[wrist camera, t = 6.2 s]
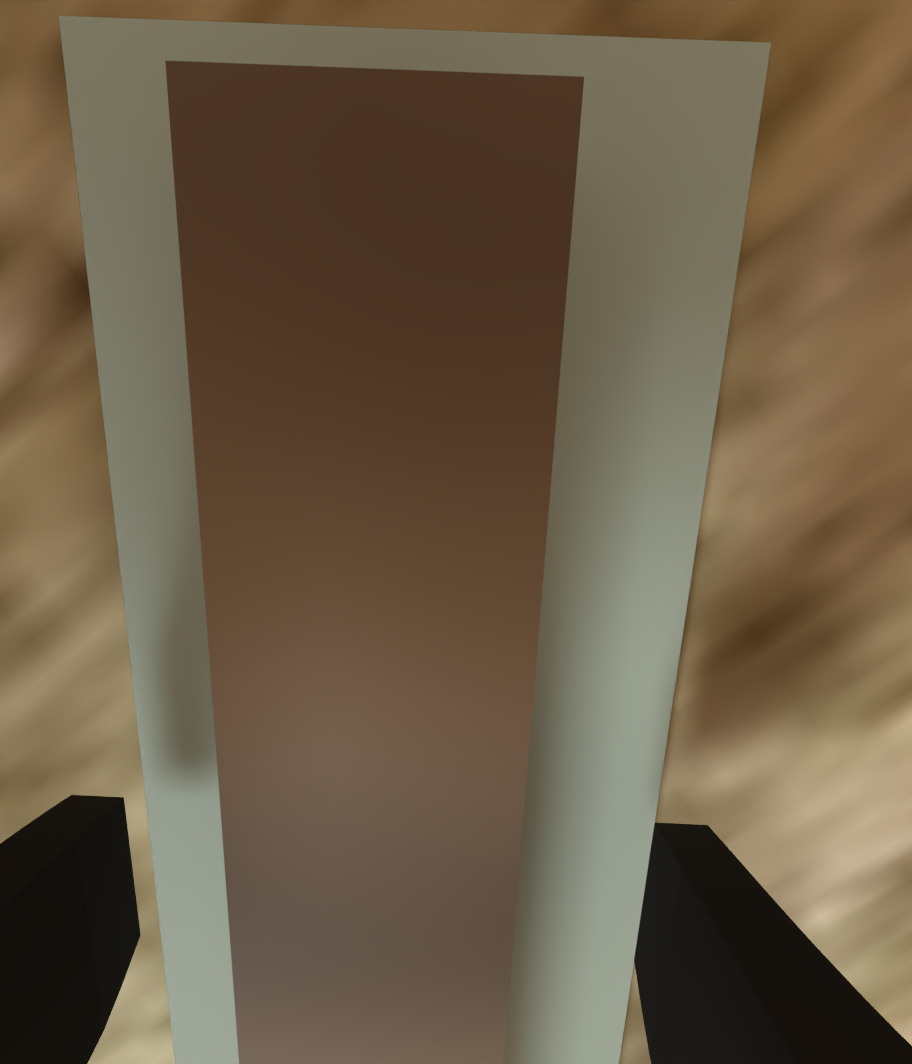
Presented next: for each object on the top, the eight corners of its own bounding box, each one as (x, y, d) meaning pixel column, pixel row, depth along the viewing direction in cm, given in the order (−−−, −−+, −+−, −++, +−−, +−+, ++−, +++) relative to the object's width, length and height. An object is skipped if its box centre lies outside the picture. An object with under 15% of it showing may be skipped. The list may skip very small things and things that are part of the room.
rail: (473, 1193, 13) (473, 1435, 10) (309, 1185, 13) (265, 1422, 10) (546, 148, 8) (583, 76, 5) (272, 139, 8) (165, 60, 5)
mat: (589, 1210, 13) (592, 1237, 13) (200, 1190, 13) (192, 1216, 13) (755, 54, 8) (770, 42, 7) (79, 28, 8) (58, 16, 7)
